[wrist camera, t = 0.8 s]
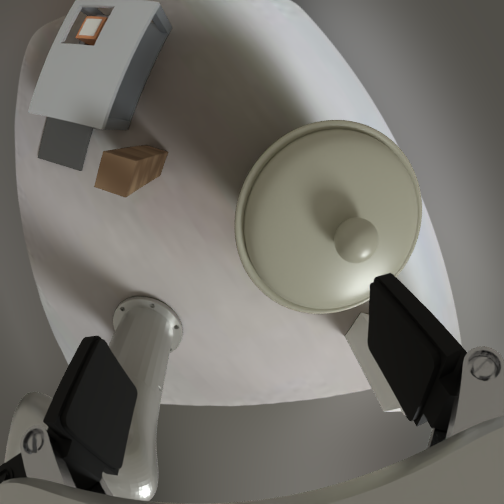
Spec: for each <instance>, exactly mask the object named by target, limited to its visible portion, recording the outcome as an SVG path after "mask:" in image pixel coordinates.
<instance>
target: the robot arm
mask: <svg viewBox="0 0 504 504" xmlns="http://www.w3.org/2000/svg"><path fill="white" fill-rule="evenodd" d="M113 327H114V330H115V333H114V335H113V338H112V340H111V342H110V344H109V346H108V345H107V343H106V341H105V340H103V339H101V338H100V337H99V336H91V337H85V338H84V339H83V340H82V342H81V344H80V345H79V347H78V349H77V351H76V353H75V355H74V357H73V358H72V360H71V362H70V364H69V366H68V368H67V370H66V372H65V374H64V376H63V378H62V380H61V382H60V384H59V386H58V389H57V391H56V393H55V395H54V397H53V398H51V397H49V396H47V395H45V394H43V393H40V392H30V393H27V394H26V395H25V396H24V397H23V398H22V399H21V400H20V402H19V404H18V406H17V408H16V410H15V413H14V416H13V420H12V424H11V428H10V432H9V437H8V443H7V449H6V455H5V462H4V464H2V465H1V466H0V504H181V503H164V502H151V501H149V500H150V499H151V498H152V497H153V496H154V494H155V492H156V489H157V485H158V463H157V451H156V432H157V421H158V414H159V408H160V402H161V396H162V390H163V385H164V379H165V374H166V369H167V364H168V359H169V354H170V353H171V352H172V351H174V350H175V349H176V348H177V347H178V346H179V344H180V342H181V340H182V334H183V328H182V324H181V321H180V319H179V317H178V316H177V314H176V313H175V312H174V311H173V310H172V309H171V308H170V307H168V306H167V305H166V304H164V303H162V302H161V301H158V300H156V299H153V298H149V297H140V296H138V297H132V298H129V299H126V300H124V301H123V302H121V303H120V304H119V305H118V307H117V309H116V310H115V312H114V315H113ZM367 343H368V348H369V350H370V352H371V354H372V356H373V357H374V359H375V361H376V363H377V364H378V366H379V368H380V370H381V371H382V373H383V375H384V377H385V378H386V380H387V382H388V384H389V386H390V387H391V389H392V391H393V393H394V395H395V396H396V398H397V400H398V402H399V404H400V406H401V407H402V409H403V411H404V413H405V415H406V417H407V418H408V420H409V421H412V420H414V422H415V424H416V426H419V425H421V424H423V423H425V422H427V421H428V423H429V424H430V426H431V428H432V431H431V434H430V438H429V441H428V445H427V448H426V450H424V451H422V452H420V453H418V454H415V455H413V456H411V457H409V458H407V459H404V460H402V461H400V462H398V463H395V464H393V465H390V466H388V467H385V468H383V469H380V470H377V471H375V472H372V473H369V474H367V475H364V476H361V477H358V478H355V479H352V480H349V481H346V482H342V483H339V484H336V485H332V486H328V487H325V488H320V489H317V490H312V491H308V492H303V493H299V494H294V495H289V496H282V497H277V498H270V499H263V500H255V501H246V502H233V503H214V504H504V360H503V358H502V356H501V355H500V354H499V353H498V352H497V351H496V350H494V349H492V348H489V347H485V346H483V347H476V348H473V349H471V350H470V351H469V352H468V353H467V352H466V351H465V350H464V349H463V347H462V346H461V345H460V344H459V343H458V342H457V340H456V339H455V338H454V337H453V336H452V335H451V334H450V333H449V331H448V330H447V329H446V328H445V327H444V326H443V325H442V324H441V323H440V322H439V321H438V319H437V318H436V317H435V316H434V315H433V314H432V313H431V312H430V311H429V310H428V309H427V308H426V307H425V306H424V305H423V304H422V303H421V302H420V301H419V300H418V299H417V298H416V297H415V296H414V295H413V294H412V293H411V292H410V291H409V290H408V289H407V288H406V287H405V286H404V285H403V284H402V283H401V282H400V281H399V280H398V279H397V278H396V277H395V276H394V275H393V274H392V273H388V274H384V275H381V276H377V277H375V278H374V282H372V283H371V284H370V298H369V324H368V340H367ZM182 504H184V503H182Z"/></svg>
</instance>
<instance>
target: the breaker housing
mask: <svg viewBox="0 0 504 504" xmlns="http://www.w3.org/2000/svg"><path fill="white" fill-rule="evenodd" d="M97 8H114V9H113V10H112V12H111V14H110V16H109V15H104V14H103V13H102V12H101V11H100V10H98V9H97ZM80 11H81V12H83V13H84V14H86V15H87V16H96V17H107V18H108V19H107V21H106V23H105V25H104V27H103V29H102V30H101V32H100V34H99V36H98V38H97V40H96V42H95V45H94V46H93V45H88V44H86V43H84V42H82V41H81V40H80V42H79V44H67V43H64V42H65V40H66V37H67V35H68V33H69V31H70V29H71V27H72V25H73V24H74V22H75V20H76V18H77V16H78V14H79V12H80ZM151 20H153V22H154V23H150V22H151ZM171 29H172V26H171V24H170V22H169V20H168V18H167V17H166V15H165V13H164V11H163V9H162V7H161V5H160V3H159V2H154V1H146V0H76V1H75V2H74V4H73V6H72V7H71V9H70V11H69V13H68V14H67V16H66V18H65V20H64V22H63V24H62V26H61V28H60V30H59V32H58V34H57V36H56V38H55V40H54V42H53V44H52V47H51V49H50V51H49V54H48V56H47V58H46V61H45V63H44V66H43V68H42V71H41V74H40V76H39V79H38V82H37V85H36V88H35V91H34V94H33V97H32V100H31V104H30V107H29V111H28V113H33V114H38V115H42V116H47V117H52V118H56V119H61V120H65V121H70V122H74V123H78V124H82V125H86V126H90V127H94V128H98V129H112V130H128V127H129V125H130V122H131V119H132V116H133V113H134V111H135V108H136V105H137V103H138V100H139V98H140V95H141V93H142V90H143V88H144V85H145V83H146V81H147V78H148V76H149V74H150V72H151V69H152V67H153V65H154V63H155V61H156V59H157V56H158V54H159V52H160V50H161V48H162V46H163V44H164V42H165V40H166V38H167V37H168V35H169V33H170V31H171Z"/></svg>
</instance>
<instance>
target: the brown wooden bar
mask: <svg viewBox="0 0 504 504" xmlns="http://www.w3.org/2000/svg"><path fill="white" fill-rule="evenodd" d="M167 154H168V152H167V151H164V150H160V149H157V148H154V147H151V146H148V145H141V146H134V147H127V148H120V149H114V150H108V151H103V155H102V158H101V162H100V166H99V170H98V174H97V178H96V182H95V186H94V187H96V188H99V189H102V190H105V191H108V192H111V193H114V194H117V195H120V196H123V197H127V196H129V195H130V194H132V193H133V192H135V191H136V190H138V189H139V188H141V187H142V186H144V185H146V184H147V183H149V182H150V181H152V180H154V179H155V178H157V177H158V176H160V175H161V172H162V169H163V166H164V163H165V160H166V157H167Z"/></svg>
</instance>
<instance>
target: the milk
mask: <svg viewBox="0 0 504 504" xmlns="http://www.w3.org/2000/svg"><path fill="white" fill-rule="evenodd" d="M368 324H369V315H368V314H365V313H360V315H359V316H358V318H357V319H356V321H355V322H354V324H353V325H352V327H351V328H350V330H349V331H348V332H347V334H346V335H345V338H346V340H347V342H348V343H349V345H350V347H351V349H352V351H353V353H354V355H355V357H356V359H357V361H358V362H359V364H360V366H361V368H362V370H363V372H364V374H365V376H366V378H367V380H368V382H369V384H370V386H371V388H372V390H373V392H374V394H375V396H376V398H377V400H378V402H379V404H380V406H381V408H382V410H383V412H394V411H402V413H403V414H404V415H405V413H404V411H403V409H402V407H401V406H400V404H399V402H398V400H397V398H396V396H395V395H394V393H393V391H392V389H391V387H390V386H389V384H388V382H387V380H386V378H385V377H384V375H383V373H382V371H381V370H380V368H379V366H378V364H377V363H376V361H375V359H374V357H373V356H372V354H371V352H370V350H369V348H368V343H367V340H368Z"/></svg>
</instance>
